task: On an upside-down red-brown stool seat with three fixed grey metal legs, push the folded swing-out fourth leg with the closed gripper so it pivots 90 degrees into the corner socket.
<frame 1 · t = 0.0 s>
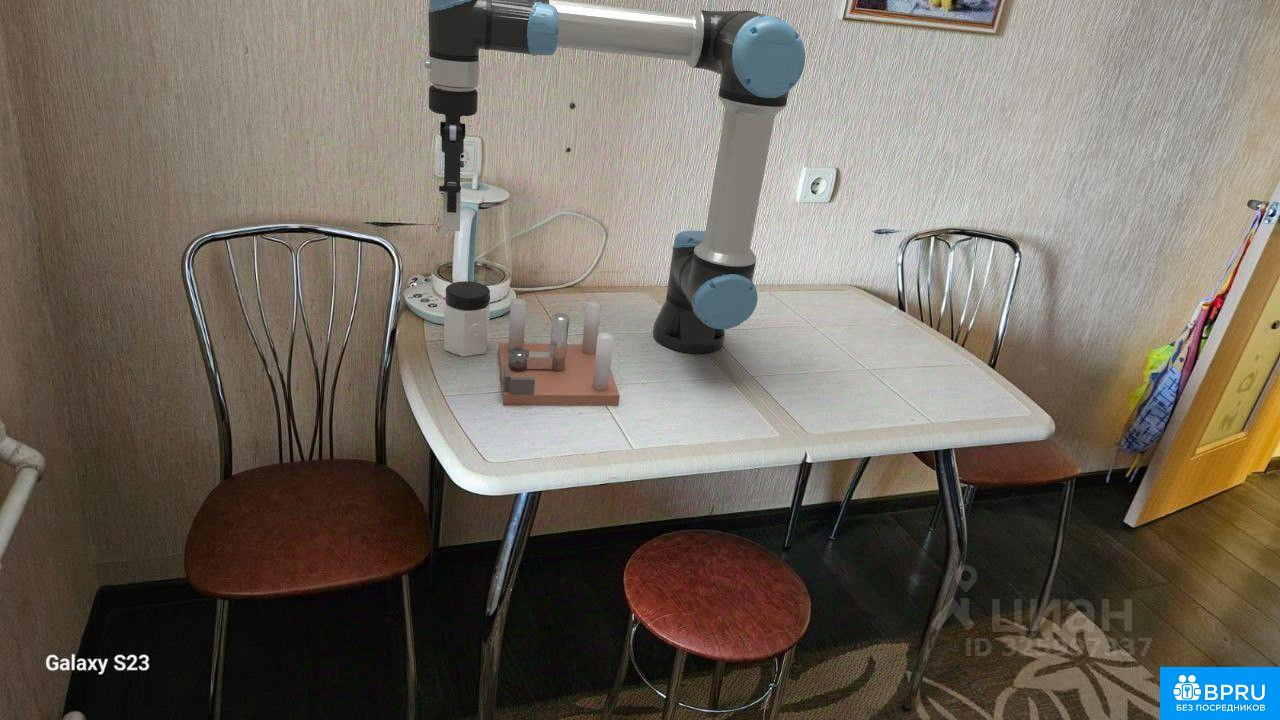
hand: (451, 217, 137), 28 cm above the table, fingers open, 13 cm apart
jar: (466, 347, 157), on the table
leg: (538, 341, 146), point 7 cm above the table, hinge at 0.0°
seat: (555, 377, 150), on the table
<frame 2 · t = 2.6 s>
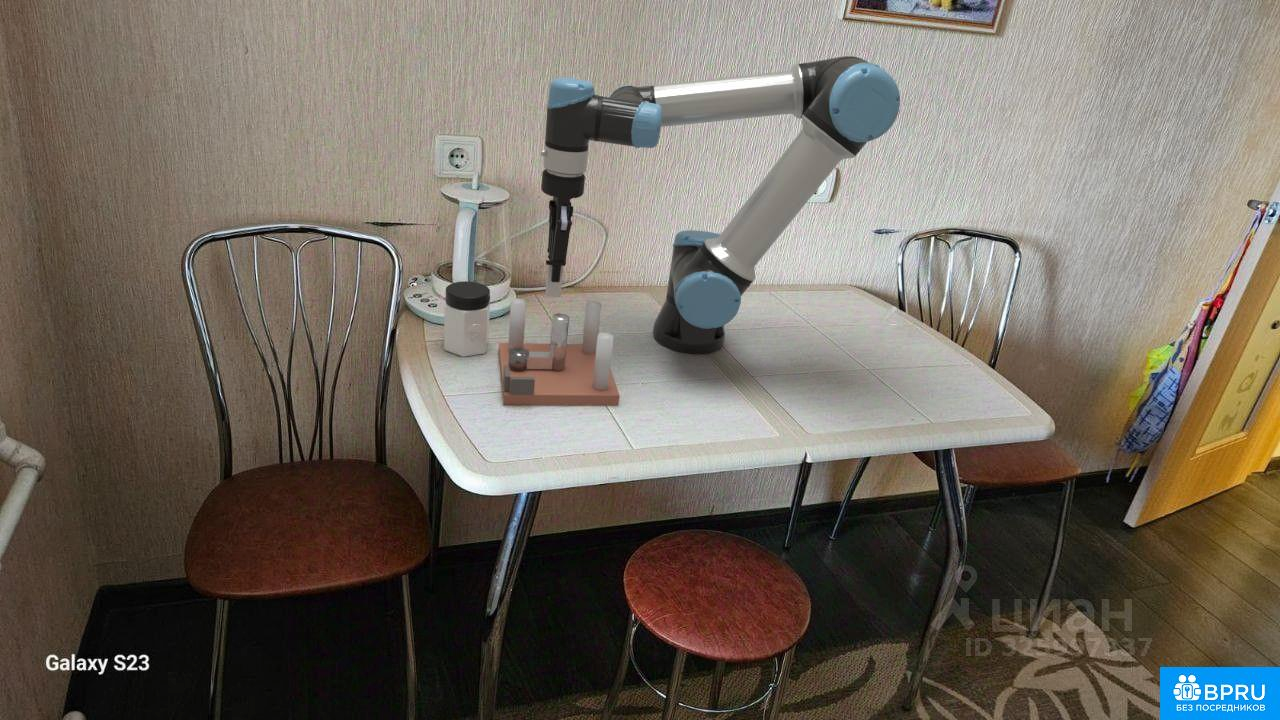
hand: (552, 295, 153), 12 cm above the table, fingers closed
nothing on the table moved.
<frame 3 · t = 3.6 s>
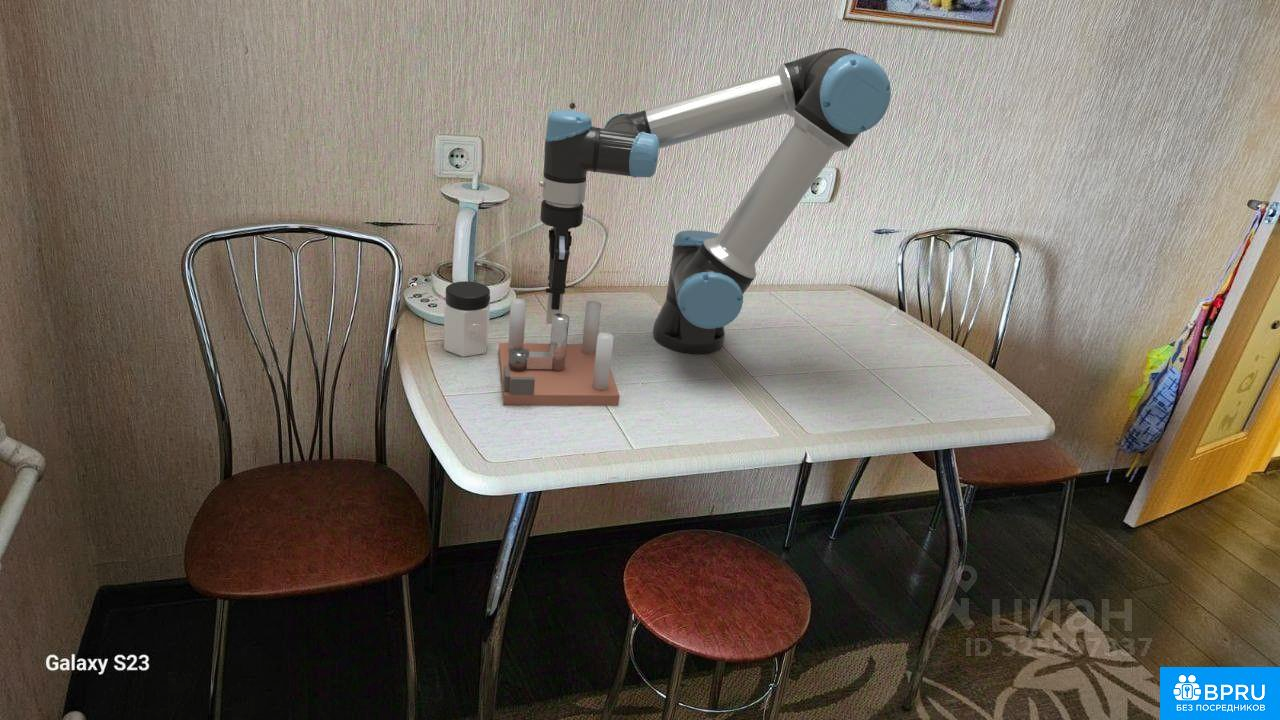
hand: (553, 322, 155), 7 cm above the table, fingers closed
nothing on the table moved.
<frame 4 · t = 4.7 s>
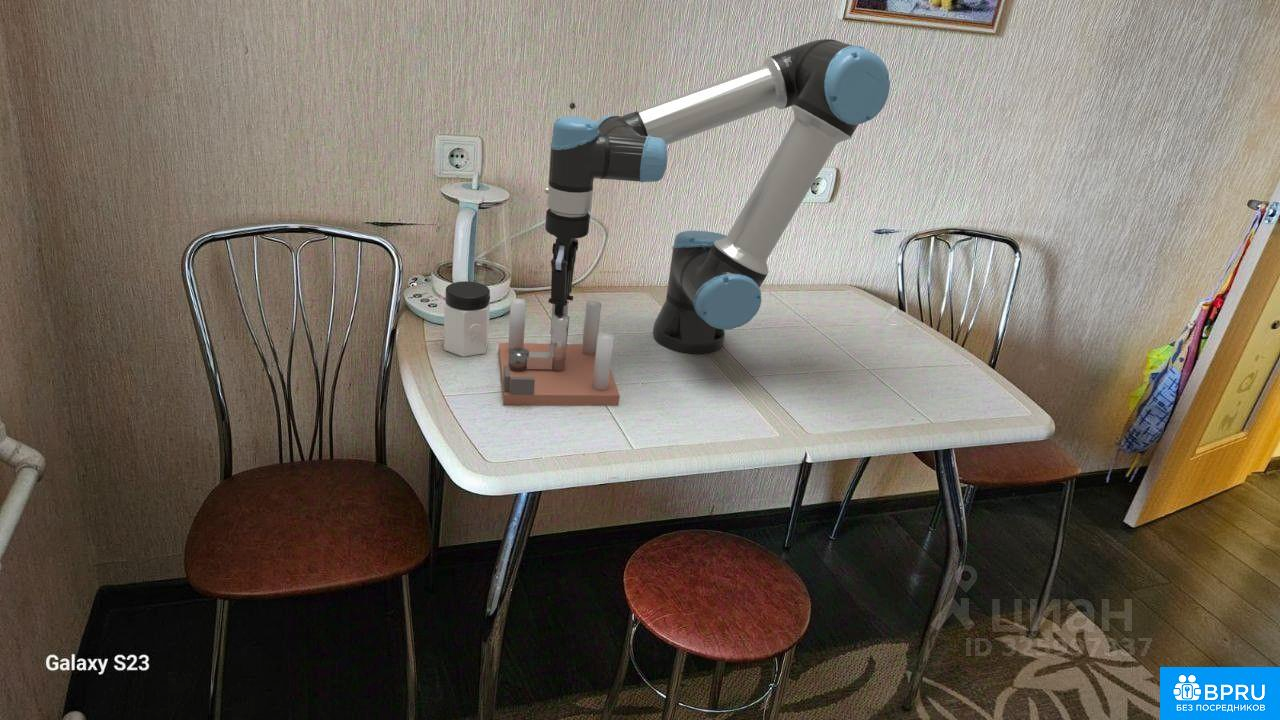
hand: (558, 333, 150), 7 cm above the table, fingers closed
leg: (538, 341, 146), point 7 cm above the table, hinge at 0.7°, touching gripper
everything else where it was.
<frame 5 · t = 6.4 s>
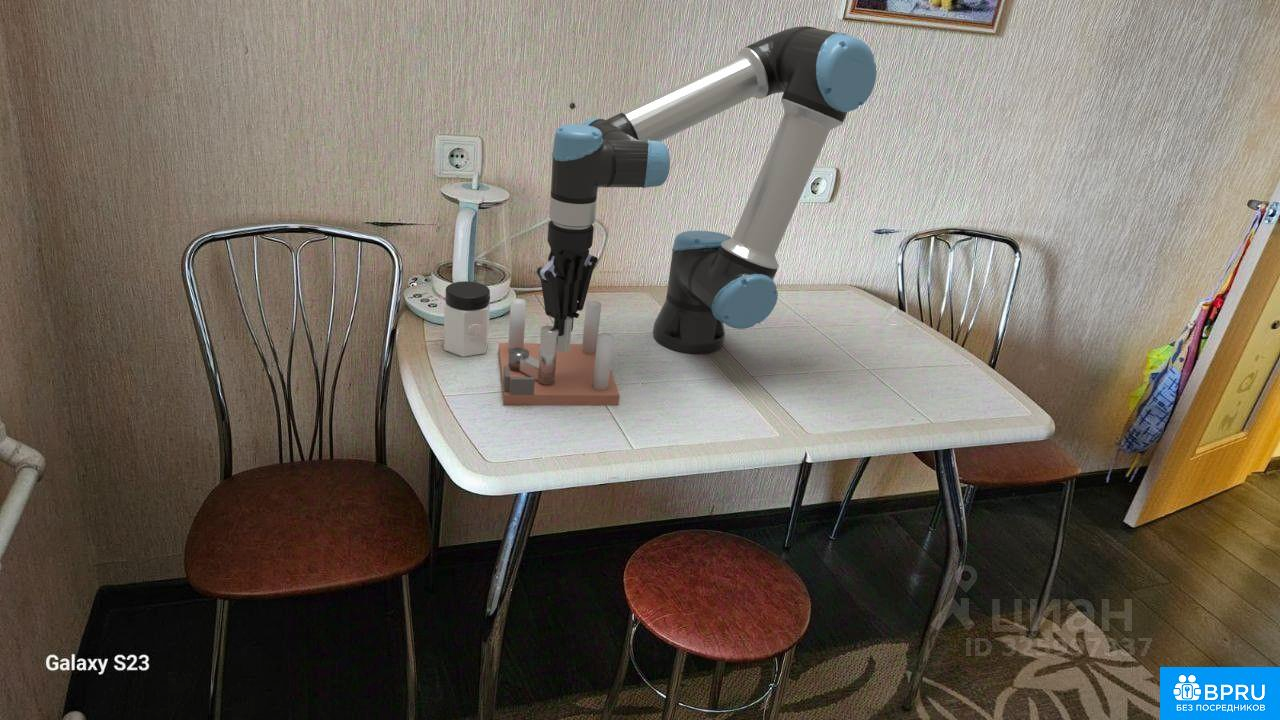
hand: (561, 349, 145), 7 cm above the table, fingers closed
leg: (533, 347, 143), point 7 cm above the table, hinge at 49.6°, touching gripper
everything else where it was.
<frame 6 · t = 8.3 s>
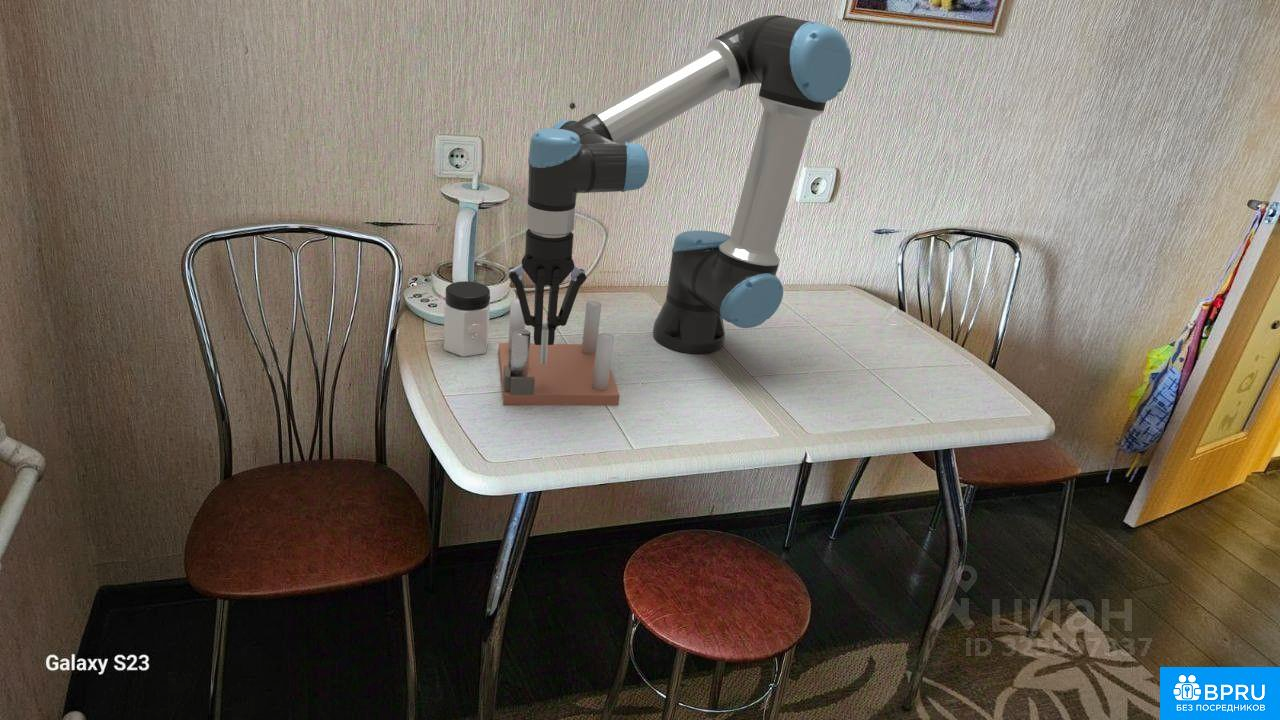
hand: (542, 360, 140), 7 cm above the table, fingers closed
leg: (519, 349, 142), point 7 cm above the table, hinge at 93.4°, touching gripper
everything else where it was.
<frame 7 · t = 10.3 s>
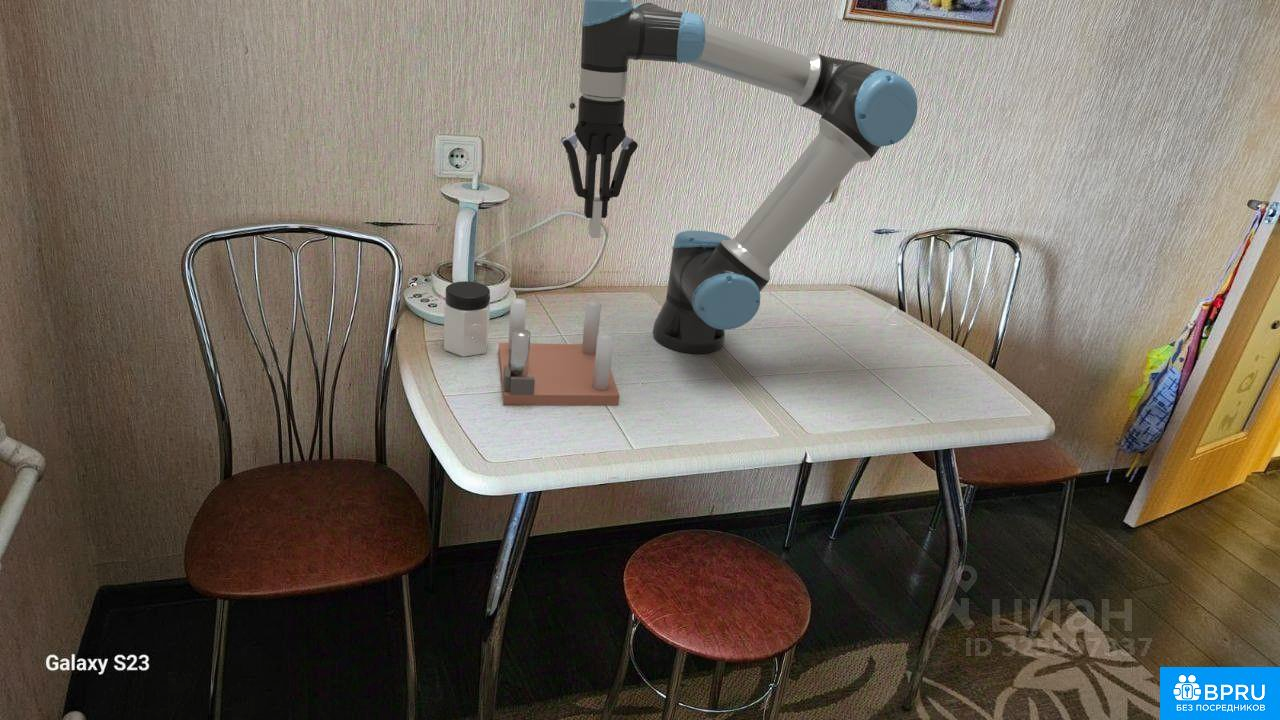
hand: (594, 235, 143), 26 cm above the table, fingers closed
leg: (519, 349, 142), point 7 cm above the table, hinge at 93.5°
everything else where it was.
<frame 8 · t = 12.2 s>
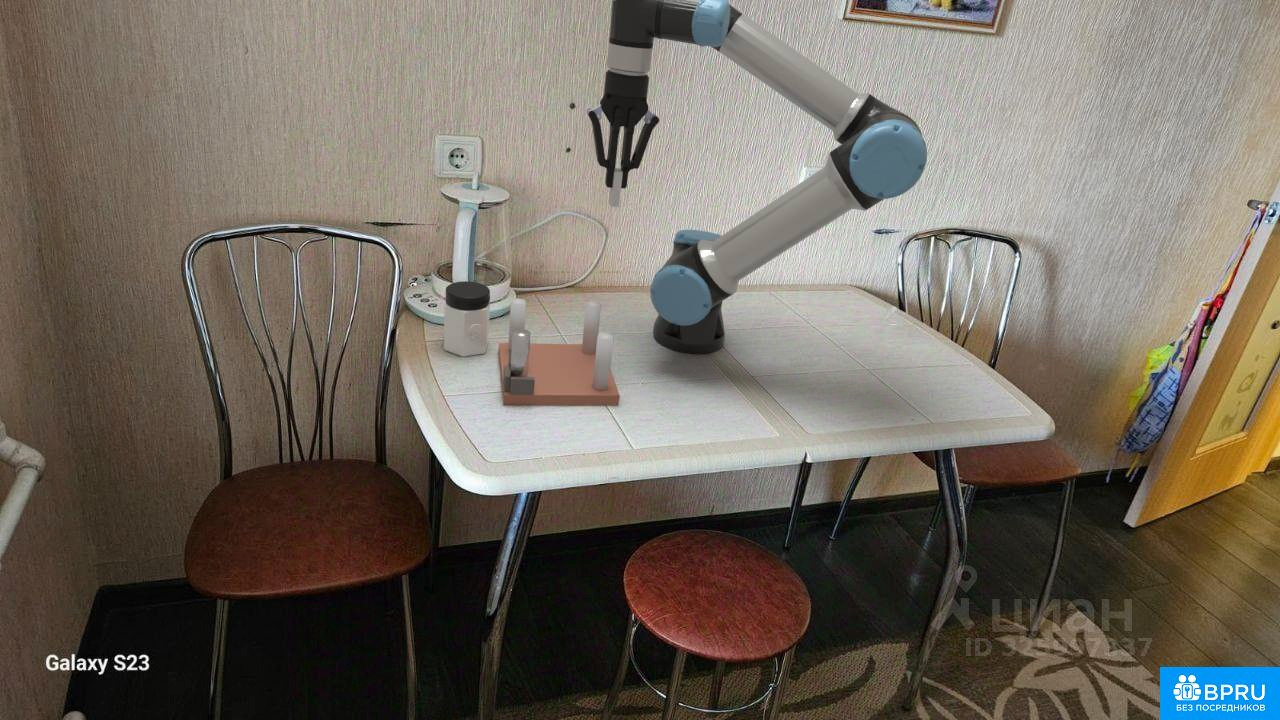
hand: (613, 204, 150), 29 cm above the table, fingers closed
nothing on the table moved.
at the end: leg at +94° (first picture: +0°) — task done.
